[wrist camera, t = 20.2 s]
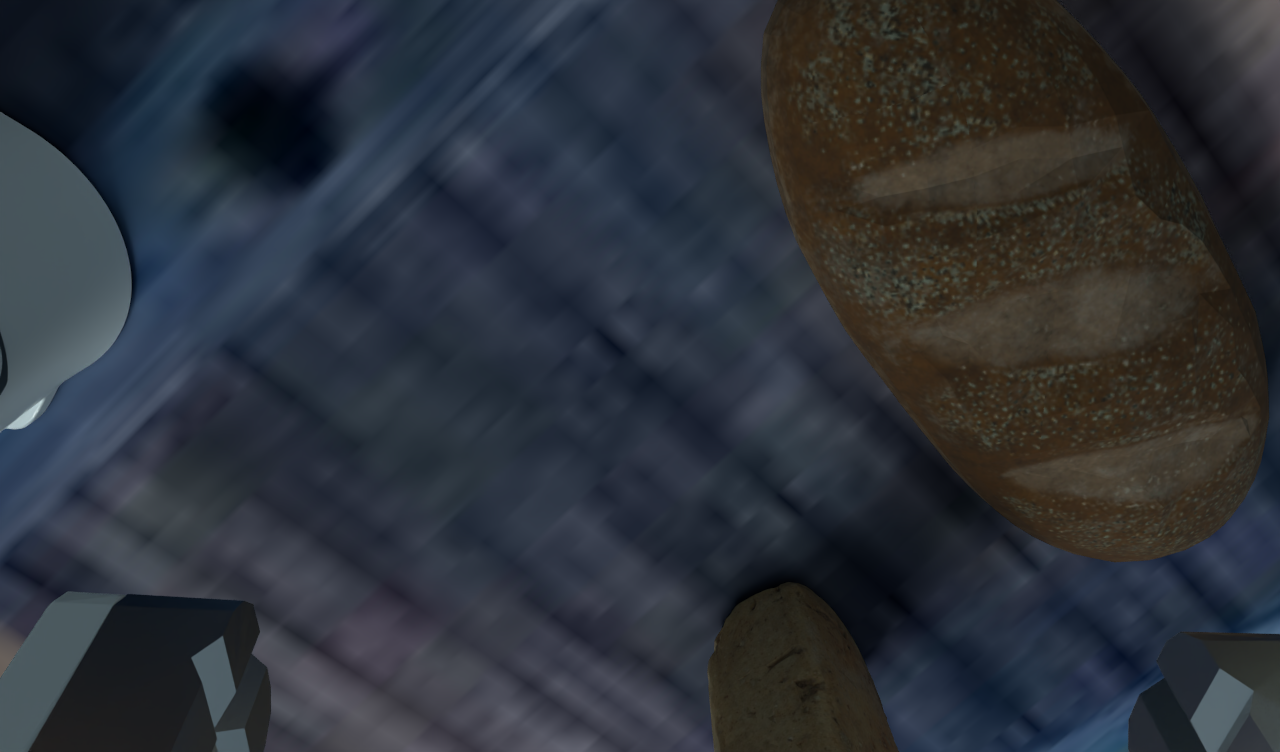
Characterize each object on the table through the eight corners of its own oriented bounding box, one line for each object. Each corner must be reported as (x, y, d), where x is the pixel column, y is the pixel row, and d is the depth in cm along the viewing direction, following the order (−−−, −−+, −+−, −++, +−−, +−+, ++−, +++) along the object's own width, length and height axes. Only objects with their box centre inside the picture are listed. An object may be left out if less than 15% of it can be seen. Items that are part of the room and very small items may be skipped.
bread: (1033, 571, 58) (1092, 681, 51) (660, 67, 44) (669, 118, 36) (1296, 432, 54) (1403, 530, 46) (978, -181, 39) (1060, -179, 32)
